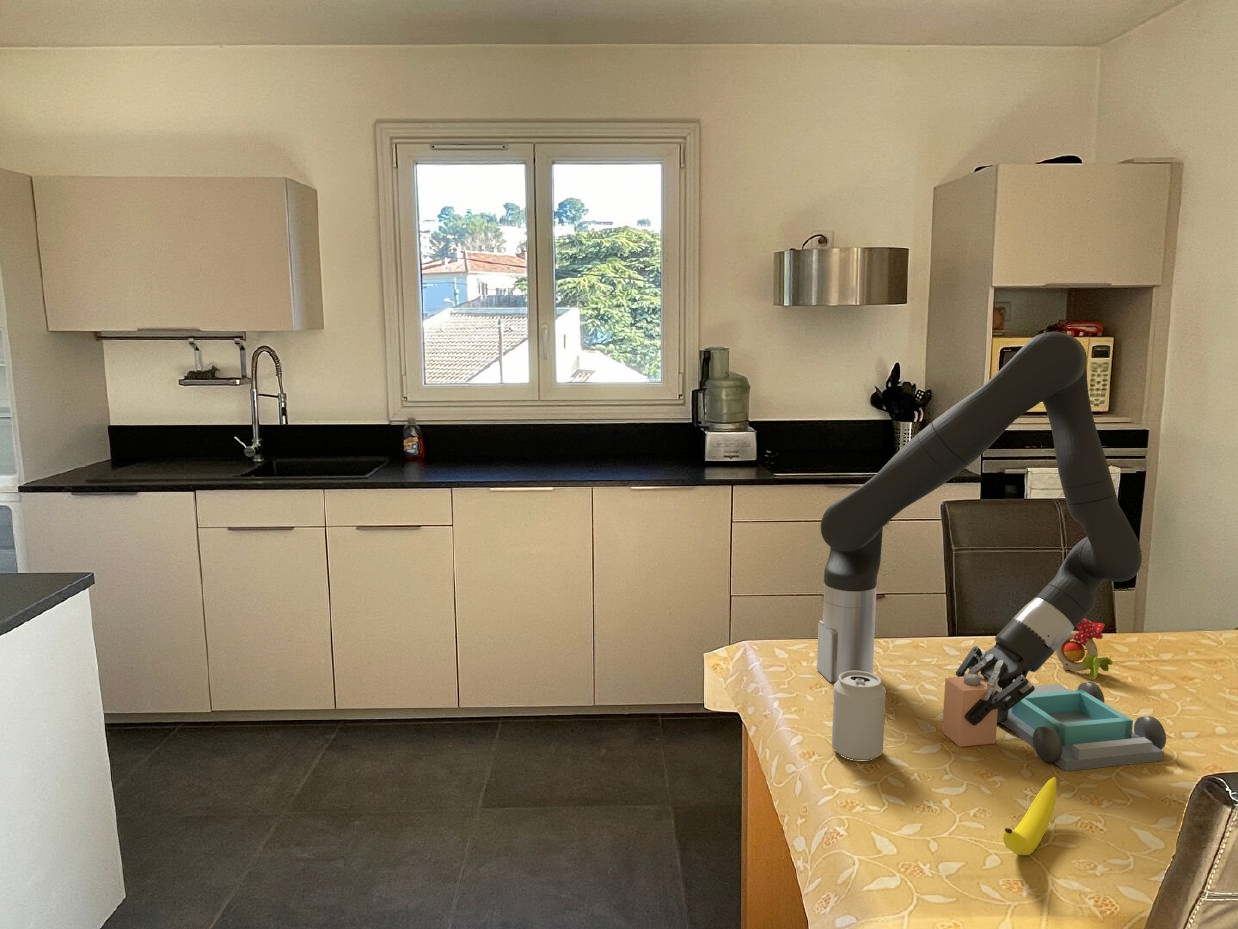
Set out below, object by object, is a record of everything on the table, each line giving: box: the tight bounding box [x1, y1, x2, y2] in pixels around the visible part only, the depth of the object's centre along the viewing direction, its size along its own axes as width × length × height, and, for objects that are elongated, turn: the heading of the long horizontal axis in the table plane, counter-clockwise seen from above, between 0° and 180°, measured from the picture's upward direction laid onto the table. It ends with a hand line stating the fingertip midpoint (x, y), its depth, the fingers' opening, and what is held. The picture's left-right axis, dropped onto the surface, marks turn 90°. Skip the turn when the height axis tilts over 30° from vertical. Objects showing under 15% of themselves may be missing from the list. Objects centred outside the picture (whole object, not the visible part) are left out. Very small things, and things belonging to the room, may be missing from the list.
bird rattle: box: [1055, 618, 1113, 681], centre depth 164 cm, size 6×11×9 cm
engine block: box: [942, 673, 998, 747], centre depth 139 cm, size 6×5×10 cm
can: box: [831, 671, 887, 760], centre depth 134 cm, size 8×8×12 cm
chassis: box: [997, 681, 1167, 772], centre depth 140 cm, size 18×20×5 cm
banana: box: [1002, 776, 1057, 856], centre depth 112 cm, size 3×19×6 cm, turn 139°
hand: (959, 713), depth 139 cm, fingers closed on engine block, 5 cm apart
